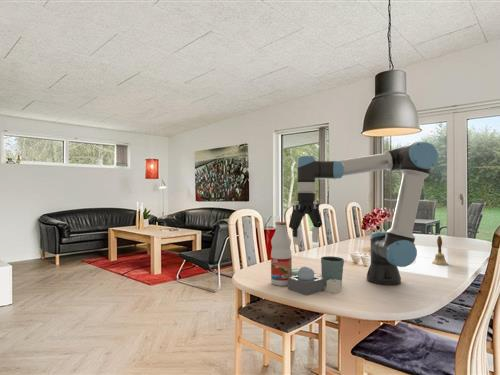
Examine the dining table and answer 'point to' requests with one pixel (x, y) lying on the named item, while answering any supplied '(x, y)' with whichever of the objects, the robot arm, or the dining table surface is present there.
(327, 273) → the teal and white cup
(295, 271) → the track board
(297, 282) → the collar
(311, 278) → the blue-grey ball
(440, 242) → the hand bell
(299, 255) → the dining table surface
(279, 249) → the fruit juice
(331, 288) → the die
